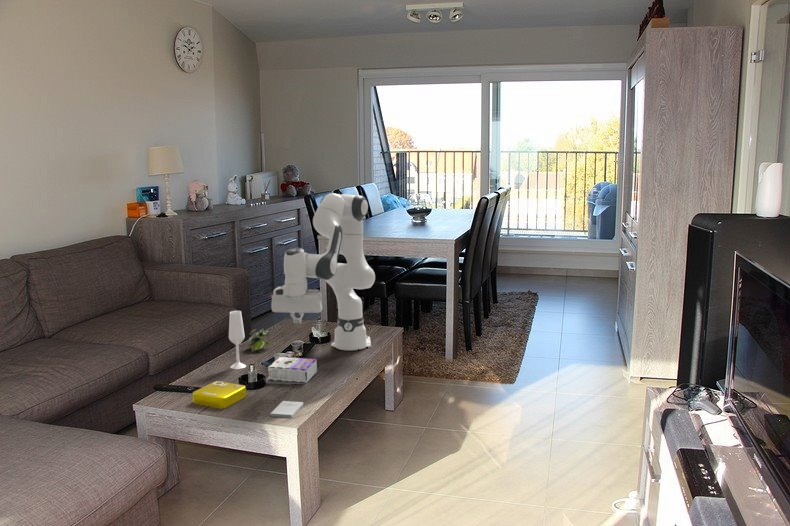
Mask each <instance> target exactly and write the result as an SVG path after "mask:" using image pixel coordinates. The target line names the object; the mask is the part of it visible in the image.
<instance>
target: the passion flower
mask: <svg viewBox="0 0 790 526" xmlns="http://www.w3.org/2000/svg"><path fill="white" fill-rule="evenodd" d="M257 330H258V329H257V328H256V329H253V330H250V333H249V335H250V337H249V338H248V340H247V344H248V348H249V347H251V352H252V353H254V352H256V351H257V350H261V349H262V348H263V347H264V346H266V349H267V350H269V347H271V344H270V342H268V341H269V337H270V331H269V330H267V331H265V330H264V328H262V329H259V330H258V331H257ZM266 336H267V338H266V340H264V338H265V337H266Z"/></svg>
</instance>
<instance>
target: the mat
mask: <svg viewBox="0 0 790 526" xmlns="http://www.w3.org/2000/svg"><path fill="white" fill-rule="evenodd" d="M265 380H266V383H267V384H266V385H291V384H303V385H302V386H305V385H306V383H301V382H288V381H274V380H268V376H267V377H266V378H265ZM304 384H305V385H304Z"/></svg>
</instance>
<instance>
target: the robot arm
mask: <svg viewBox="0 0 790 526" xmlns="http://www.w3.org/2000/svg"><path fill="white" fill-rule="evenodd" d="M368 211H369V203H368V200H367V198H366V197H365V196H364V195H359V194H349V193H343V194H342V193H341V194H338V193H334V192H333V193H332V192H331V193H328V194H326V195H324V196H323V197H322V198H321V199H320V203H319V205H318V207H317V209H316V211H315V212H314V215H313V217H312V225H313V228H314V229H315V231H316V232H317V233H318V234H319V235H321V236H322V237H325V238H327V239H328V243H327V248H326V251H325V252H324V253H322V254H319V253H318V254H317V253H308V252H305V250H304V248H302V247H294V248H293V247H292V248H289V249H287V250H285V252H284V257H283V272H284V275H285V276H284V277H285V279H284V285H283V284H282V285H280V286H277V287H276V288H274V290H272V291H273V292H272V294H273V296H272V298H271V308H270V309H271V311H272V312H273V313H288V314H290V316H291V318H292V321H293V324H302V319H303V317H304V315H305V314H309V313H310V314H313V313H315V314H320V313H321V312H322V310H323V301H322V299H323V293H322V291H321V290H319V289H316V288H315V289H308V279H307V278H310V279H311V278H312V279H320V280H325V282H326V283H327V284H328V285H329V287H331V289H332V290H333V292H334V294H335V297H336V301H337V310H338V311H337V312H338V317H337V320H336V321H337V326H336V327H335V328H334V341H333V342H332V343H331V346H330V347H334V348H336V349H337V350H342V351H358V349H359V350H363V349H367V348H366V347H368V348H371V347H372V343H371V337H370V336H368V335H367V329H366V327H365V324H364V316H363V300H362V299H361V297H359V296H358V295H357V293H356V292H355V290H354V289H356V290H365V289H370V288H372V286H373V285H374V283H375V281H376V274H375V271H374V269H373V268H372V267H371V266H370V265H369V264H368V261H367V260H366V256H365V253H364V221H363V219H364V218H365V217H366V215H367V214H368ZM340 254H341V256H344V258H345V260H346V263H342V262H338V260H339V255H340ZM296 313H297V314H298V313H299V316H300V317H296V315H295V314H296Z"/></svg>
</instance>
